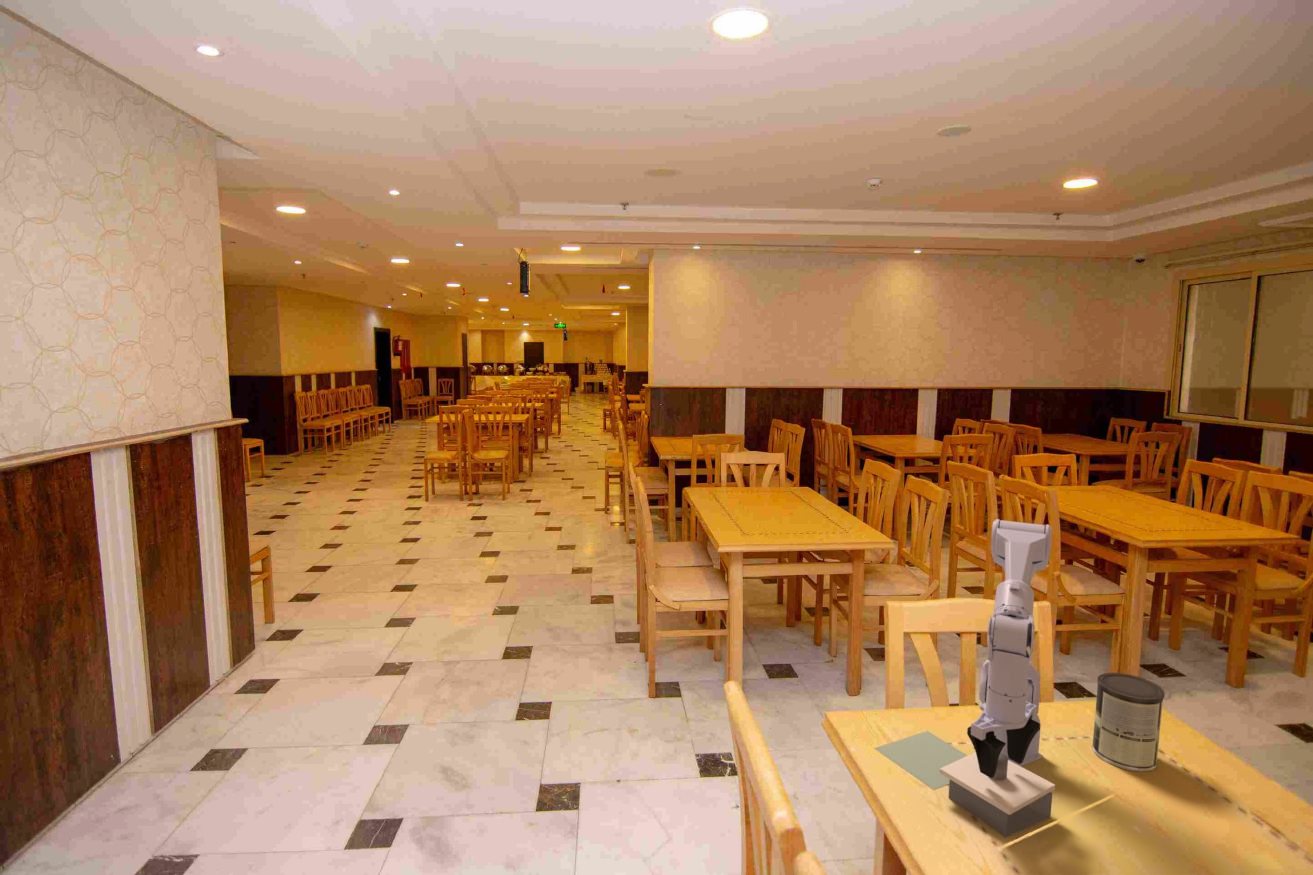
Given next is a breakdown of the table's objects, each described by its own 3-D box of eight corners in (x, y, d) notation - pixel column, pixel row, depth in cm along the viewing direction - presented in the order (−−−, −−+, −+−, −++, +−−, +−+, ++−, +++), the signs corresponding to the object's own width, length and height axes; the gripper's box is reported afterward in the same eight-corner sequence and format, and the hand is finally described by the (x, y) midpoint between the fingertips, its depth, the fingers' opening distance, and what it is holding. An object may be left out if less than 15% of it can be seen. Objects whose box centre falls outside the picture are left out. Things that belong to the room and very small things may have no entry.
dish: (991, 782, 121) (993, 757, 121) (1050, 819, 112) (1052, 792, 111) (948, 799, 117) (949, 774, 116) (1005, 839, 107) (1007, 812, 106)
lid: (984, 751, 123) (986, 728, 122) (1054, 789, 112) (1056, 764, 112) (939, 773, 116) (941, 748, 116) (1009, 814, 106) (1011, 788, 105)
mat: (927, 732, 137) (927, 730, 137) (988, 770, 125) (989, 768, 125) (874, 750, 131) (874, 748, 131) (933, 791, 119) (933, 789, 119)
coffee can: (1079, 741, 135) (1085, 672, 133) (1131, 740, 135) (1137, 671, 133) (1115, 772, 125) (1122, 698, 123) (1171, 772, 125) (1179, 698, 123)
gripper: (1010, 669, 119) (1005, 743, 120) (956, 688, 112) (951, 767, 113) (1051, 686, 113) (1045, 763, 114) (996, 708, 105) (990, 791, 107)
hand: (1001, 767), depth 113 cm, fingers open, 7 cm apart
